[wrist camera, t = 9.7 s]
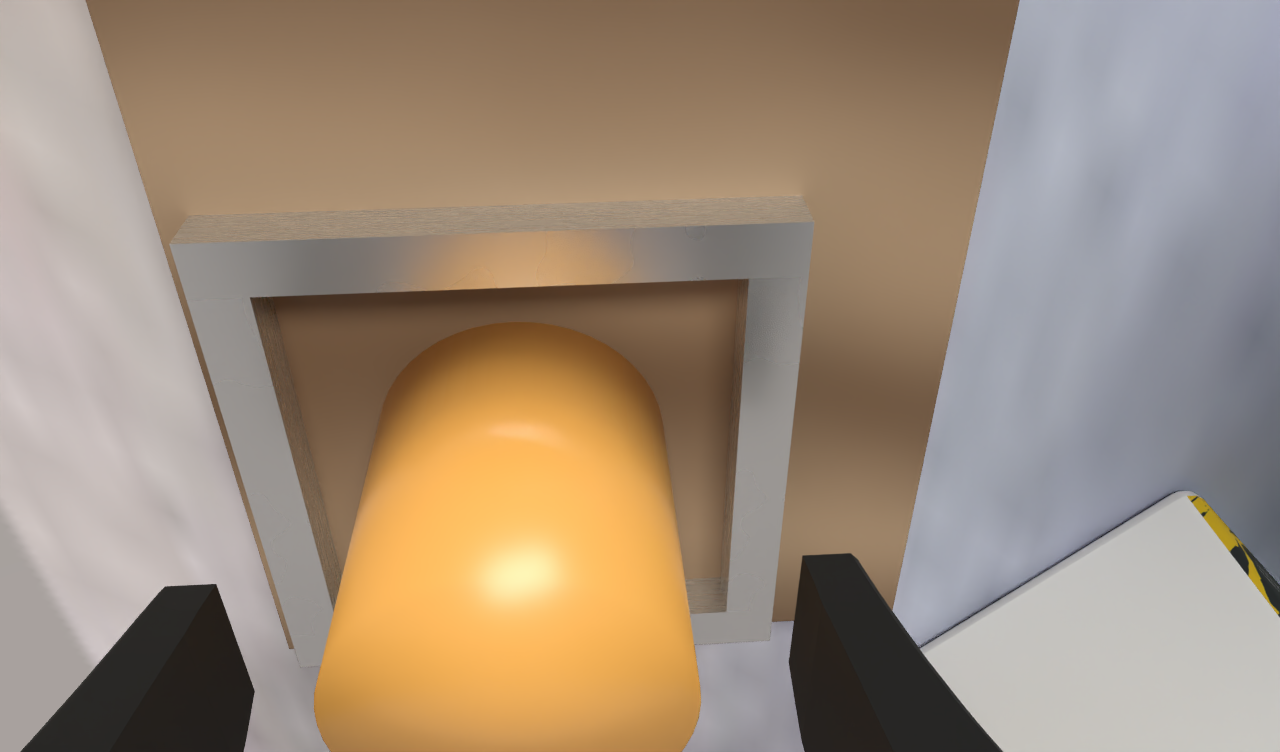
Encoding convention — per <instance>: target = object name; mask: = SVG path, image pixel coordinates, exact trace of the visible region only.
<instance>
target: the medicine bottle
mask: <svg viewBox="0 0 1280 752" xmlns="http://www.w3.org/2000/svg"><path fill="white" fill-rule="evenodd" d="M920 650H921V651H922V653H923V654H924V655H925V657H926V658H927V659H928V661H929V662H930V663H931V665H932V666H933V667H934V668H935V670H936V671H937V672H938V674H939V675H940V676H941V677H942V679H943V680H944V681H945V682H946V684H947V685H948V686H949V688H950V689H951V690H952V691H953V693H954V694H955V695H956V696H957V698H958V699H959V700H960V701H961V703H962V704H963V705H964V706H965V708H966V709H967V710H968V711H969V712H970V714H971V715H972V716H973V717H974V718H975V720H976V721H977V722H978V723H979V724H980V726H981V727H982V728H983V729H984V730H985V731H986V733H987V734H988V735H989V736H990V737H991V738H992V739H993V741H994V742H995V743H996V744H997V745H998V746H999V747H1000V749H1001V750H1002V751H1003V752H1280V585H1279V584H1278V583H1277V582H1276V581H1275V579H1274V578H1273V577H1272V576H1271V575H1270V574H1269V573H1268V572H1267V570H1266V569H1265V568H1264V567H1263V566H1262V565H1261V564H1260V563H1259V561H1258V560H1257V559H1256V558H1255V557H1254V556H1253V555H1252V553H1251V552H1250V551H1249V550H1248V549H1247V548H1246V547H1245V546H1244V544H1243V543H1242V542H1241V541H1240V540H1239V539H1238V538H1237V537H1236V535H1235V534H1234V533H1233V532H1232V531H1231V530H1230V529H1229V527H1228V526H1227V525H1226V524H1225V523H1224V522H1223V521H1222V520H1221V518H1220V517H1219V516H1218V515H1217V514H1216V513H1215V512H1214V511H1213V509H1212V508H1211V507H1210V506H1209V505H1208V504H1207V503H1206V501H1205V500H1204V499H1203V498H1201V497H1200V496H1198V495H1197V494H1195V493H1193V492H1191V491H1178V492H1175V493H1173V494H1171V495H1169V496H1168V497H1166V498H1164V499H1163V500H1161V501H1160V502H1158V503H1156V504H1155V505H1153V506H1151V507H1150V508H1148V509H1147V510H1145V511H1143V512H1142V513H1140V514H1138V515H1137V516H1135V517H1133V518H1132V519H1130V520H1129V521H1127V522H1125V523H1124V524H1122V525H1120V526H1119V527H1117V528H1116V529H1114V530H1112V531H1111V532H1109V533H1107V534H1106V535H1104V536H1102V537H1101V538H1099V539H1098V540H1096V541H1094V542H1093V543H1091V544H1089V545H1088V546H1086V547H1085V548H1083V549H1081V550H1080V551H1078V552H1076V553H1075V554H1073V555H1072V556H1070V557H1068V558H1067V559H1065V560H1063V561H1062V562H1060V563H1058V564H1057V565H1055V566H1054V567H1052V568H1050V569H1049V570H1047V571H1045V572H1044V573H1042V574H1041V575H1039V576H1037V577H1036V578H1034V579H1032V580H1031V581H1029V582H1028V583H1026V584H1024V585H1023V586H1021V587H1019V588H1018V589H1016V590H1014V591H1013V592H1011V593H1010V594H1008V595H1006V596H1005V597H1003V598H1001V599H1000V600H998V601H997V602H995V603H993V604H992V605H990V606H988V607H987V608H985V609H984V610H982V611H980V612H979V613H977V614H975V615H974V616H972V617H970V618H969V619H967V620H966V621H964V622H962V623H961V624H959V625H957V626H956V627H954V628H953V629H951V630H949V631H948V632H946V633H944V634H943V635H941V636H939V637H938V638H936V639H935V640H933V641H931V642H930V643H928V644H926V645H925V646H923V647H922V648H920Z"/></svg>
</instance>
